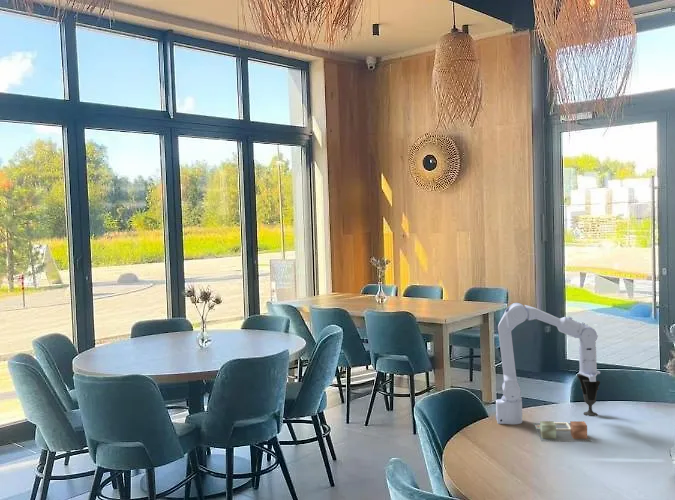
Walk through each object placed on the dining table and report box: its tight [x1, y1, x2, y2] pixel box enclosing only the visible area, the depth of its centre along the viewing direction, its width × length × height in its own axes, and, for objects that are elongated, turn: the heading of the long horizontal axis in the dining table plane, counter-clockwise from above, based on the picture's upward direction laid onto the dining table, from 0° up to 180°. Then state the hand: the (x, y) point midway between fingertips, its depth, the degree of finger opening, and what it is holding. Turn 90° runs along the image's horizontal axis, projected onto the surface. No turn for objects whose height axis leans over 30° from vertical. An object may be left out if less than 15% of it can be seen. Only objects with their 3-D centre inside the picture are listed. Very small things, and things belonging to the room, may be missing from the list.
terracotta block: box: [569, 420, 588, 439], centre depth 220 cm, size 4×4×4 cm
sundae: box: [580, 386, 600, 417], centre depth 247 cm, size 7×7×15 cm
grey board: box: [532, 421, 592, 443], centre depth 226 cm, size 16×20×1 cm
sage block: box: [539, 420, 556, 439], centre depth 222 cm, size 4×4×4 cm
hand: (588, 397), depth 235 cm, fingers open, 7 cm apart
